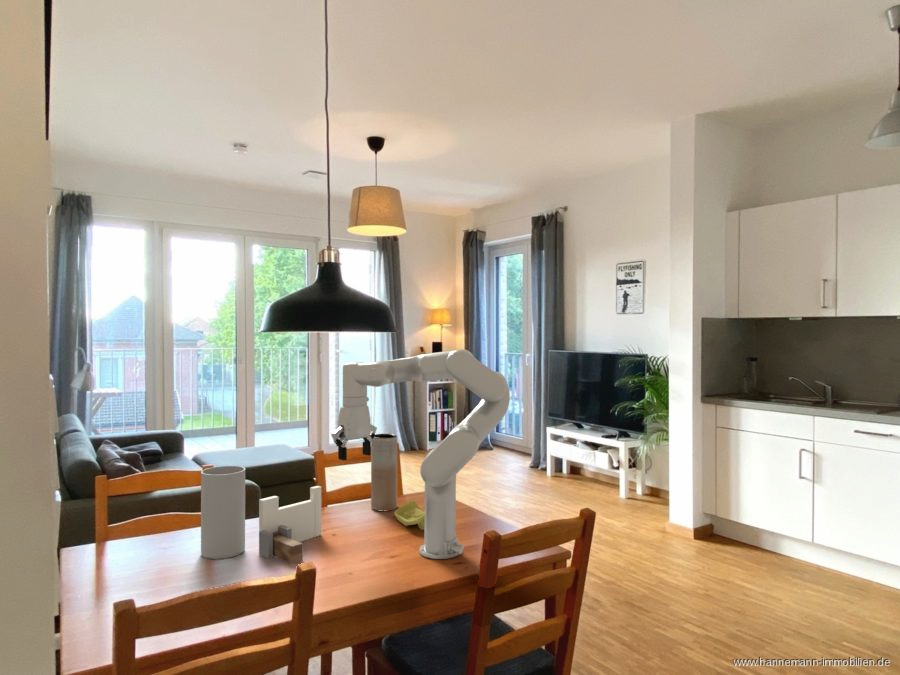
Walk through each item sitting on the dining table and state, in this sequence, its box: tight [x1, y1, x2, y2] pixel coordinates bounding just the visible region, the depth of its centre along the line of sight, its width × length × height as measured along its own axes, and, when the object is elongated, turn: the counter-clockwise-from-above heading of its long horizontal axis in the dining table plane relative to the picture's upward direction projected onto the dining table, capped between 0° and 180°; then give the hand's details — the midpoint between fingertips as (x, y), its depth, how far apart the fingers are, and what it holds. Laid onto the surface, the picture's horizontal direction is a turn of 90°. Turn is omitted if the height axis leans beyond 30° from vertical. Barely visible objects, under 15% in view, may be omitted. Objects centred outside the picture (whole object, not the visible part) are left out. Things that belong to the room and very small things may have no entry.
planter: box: [370, 433, 398, 512], centre depth 224 cm, size 10×10×28 cm
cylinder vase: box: [200, 465, 246, 560], centre depth 177 cm, size 12×12×25 cm
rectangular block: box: [272, 531, 304, 565], centre depth 173 cm, size 13×4×6 cm, turn 50°
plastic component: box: [393, 499, 424, 531], centre depth 204 cm, size 20×7×10 cm
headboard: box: [258, 485, 322, 559], centre depth 183 cm, size 7×23×16 cm, turn 140°
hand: (354, 457), depth 180 cm, fingers open, 9 cm apart
